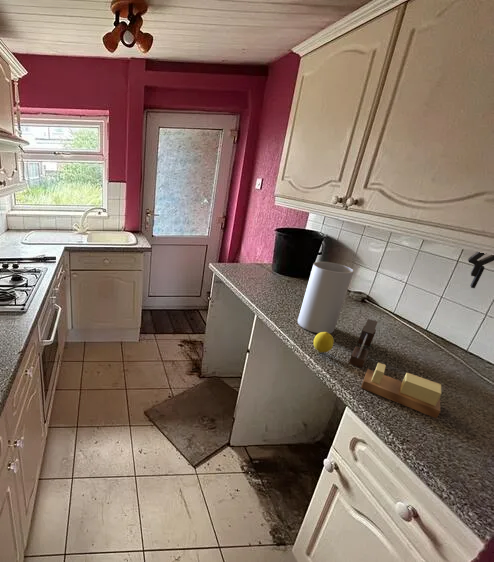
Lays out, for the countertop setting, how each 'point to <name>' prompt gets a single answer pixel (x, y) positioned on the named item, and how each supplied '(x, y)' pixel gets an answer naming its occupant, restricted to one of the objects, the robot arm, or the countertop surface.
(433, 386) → the butter
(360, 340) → the knife stand
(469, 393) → the countertop surface
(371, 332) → the knife
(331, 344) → the lemon
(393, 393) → the board
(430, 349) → the countertop surface
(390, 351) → the countertop surface
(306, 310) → the cylinder vase
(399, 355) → the countertop surface
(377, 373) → the butter slice
